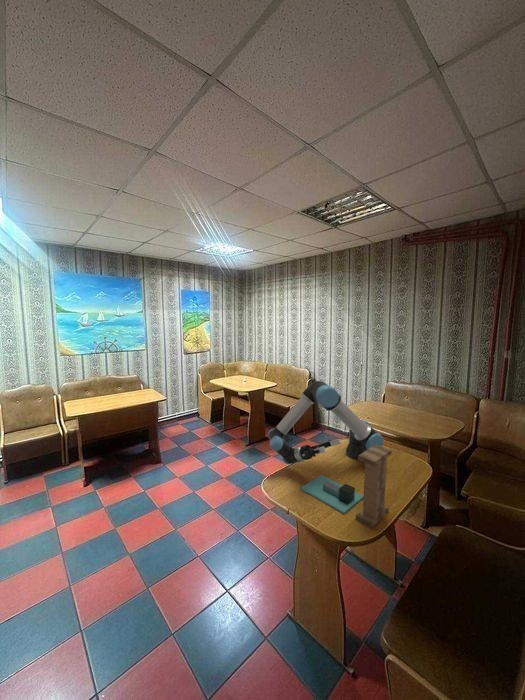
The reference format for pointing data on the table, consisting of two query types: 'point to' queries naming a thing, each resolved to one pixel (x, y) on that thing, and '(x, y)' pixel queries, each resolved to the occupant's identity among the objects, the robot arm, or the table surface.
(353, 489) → the bar
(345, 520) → the table surface
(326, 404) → the robot arm
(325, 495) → the teal mat
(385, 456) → the walnut stand
